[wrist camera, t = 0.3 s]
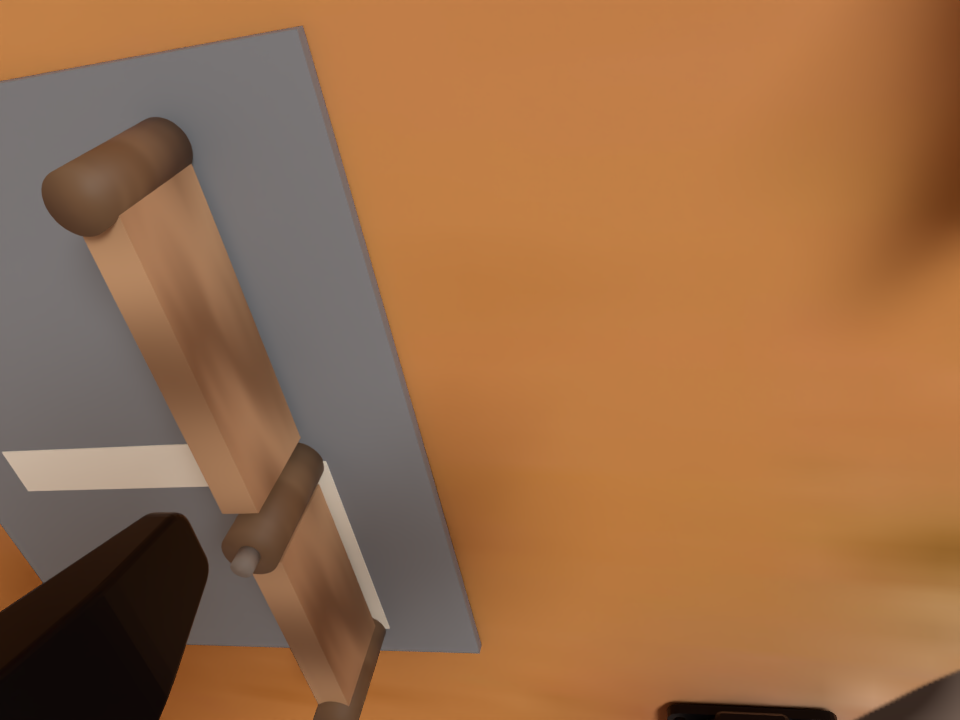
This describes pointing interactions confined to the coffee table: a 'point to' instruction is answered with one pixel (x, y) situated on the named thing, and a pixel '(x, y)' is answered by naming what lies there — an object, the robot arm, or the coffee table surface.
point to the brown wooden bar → (181, 303)
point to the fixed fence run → (310, 586)
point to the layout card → (276, 312)
